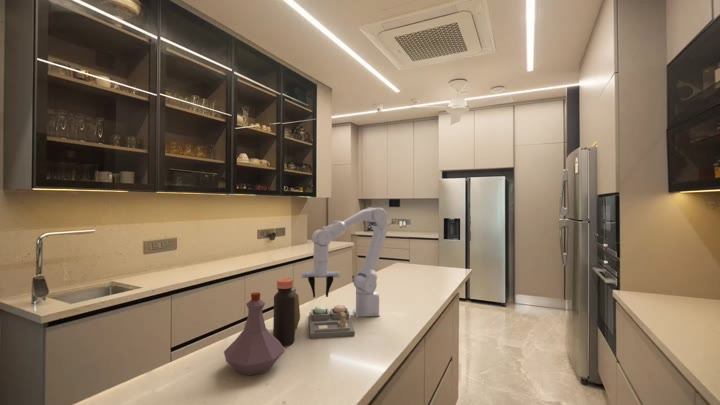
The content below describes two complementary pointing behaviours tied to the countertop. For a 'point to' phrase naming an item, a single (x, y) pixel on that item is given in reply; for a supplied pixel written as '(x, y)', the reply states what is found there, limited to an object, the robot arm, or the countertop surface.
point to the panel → (329, 325)
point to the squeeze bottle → (296, 307)
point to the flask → (254, 343)
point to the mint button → (320, 310)
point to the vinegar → (284, 313)
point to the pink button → (339, 309)
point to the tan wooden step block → (342, 320)
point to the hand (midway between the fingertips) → (320, 296)
